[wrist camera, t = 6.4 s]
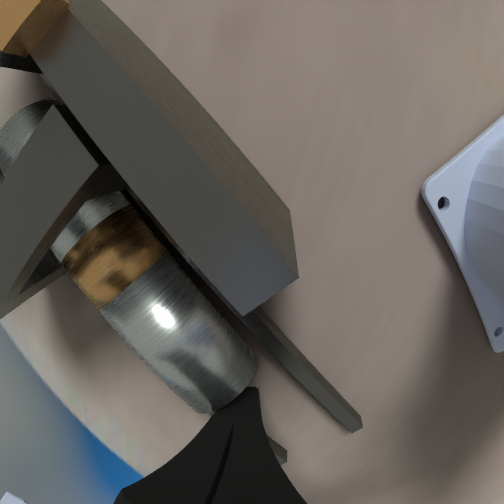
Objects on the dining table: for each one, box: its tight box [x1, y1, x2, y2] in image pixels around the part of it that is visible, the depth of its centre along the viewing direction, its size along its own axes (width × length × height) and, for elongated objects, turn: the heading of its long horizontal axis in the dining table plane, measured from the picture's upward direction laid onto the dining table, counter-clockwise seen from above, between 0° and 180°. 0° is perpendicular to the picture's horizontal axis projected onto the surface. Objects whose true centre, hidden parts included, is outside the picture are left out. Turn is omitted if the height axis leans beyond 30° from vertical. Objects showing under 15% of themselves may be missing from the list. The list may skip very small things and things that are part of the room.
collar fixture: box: [0, 0, 363, 465], centre depth 8 cm, size 26×9×7 cm, turn 39°
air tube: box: [0, 100, 258, 414], centre depth 10 cm, size 12×3×3 cm, turn 37°
